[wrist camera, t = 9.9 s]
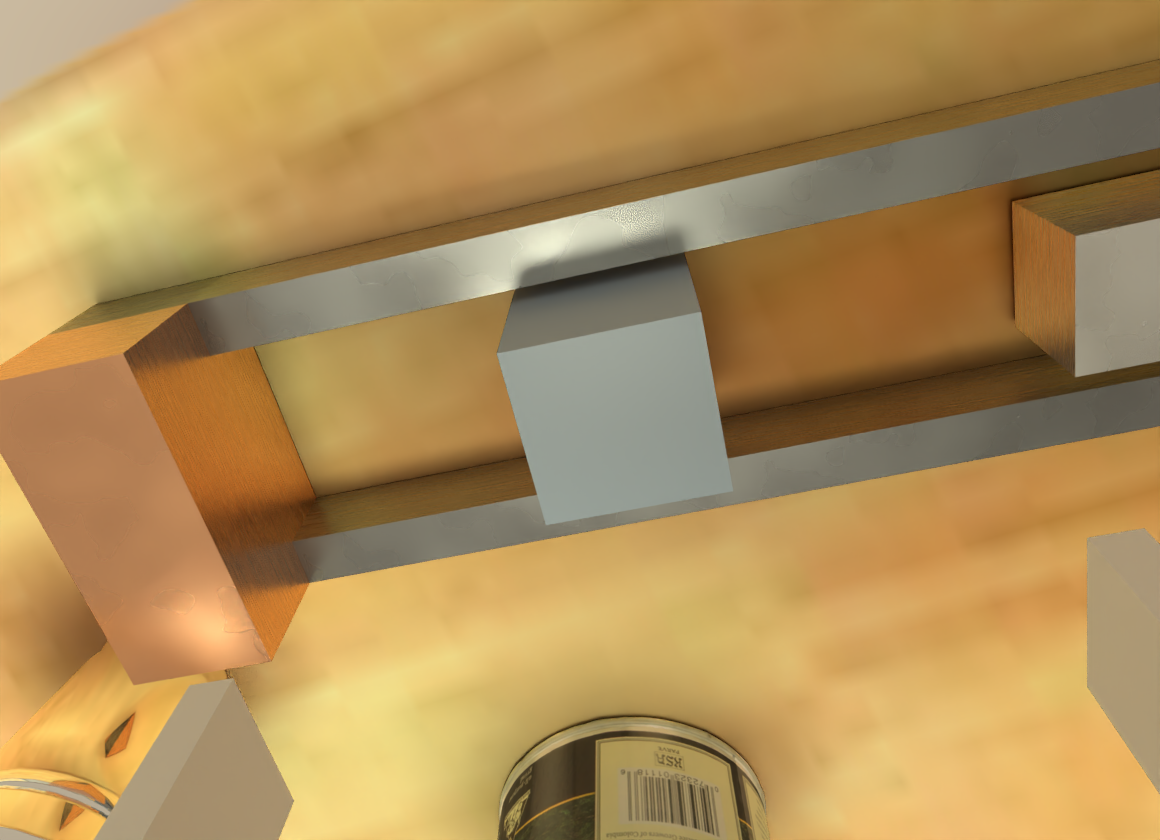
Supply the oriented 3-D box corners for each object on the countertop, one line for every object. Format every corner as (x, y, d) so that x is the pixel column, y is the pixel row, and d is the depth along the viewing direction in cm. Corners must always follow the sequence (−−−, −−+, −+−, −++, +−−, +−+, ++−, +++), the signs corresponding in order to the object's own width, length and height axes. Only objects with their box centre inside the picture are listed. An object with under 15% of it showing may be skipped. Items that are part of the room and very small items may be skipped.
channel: (1543, -29, 22) (1855, -32, 16) (1473, 319, 25) (1707, 411, 20) (95, 304, 26) (-37, 389, 21) (218, 558, 30) (133, 685, 25)
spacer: (680, 240, 25) (701, 311, 20) (707, 388, 27) (733, 490, 22) (519, 274, 26) (496, 353, 20) (557, 418, 28) (545, 525, 22)
